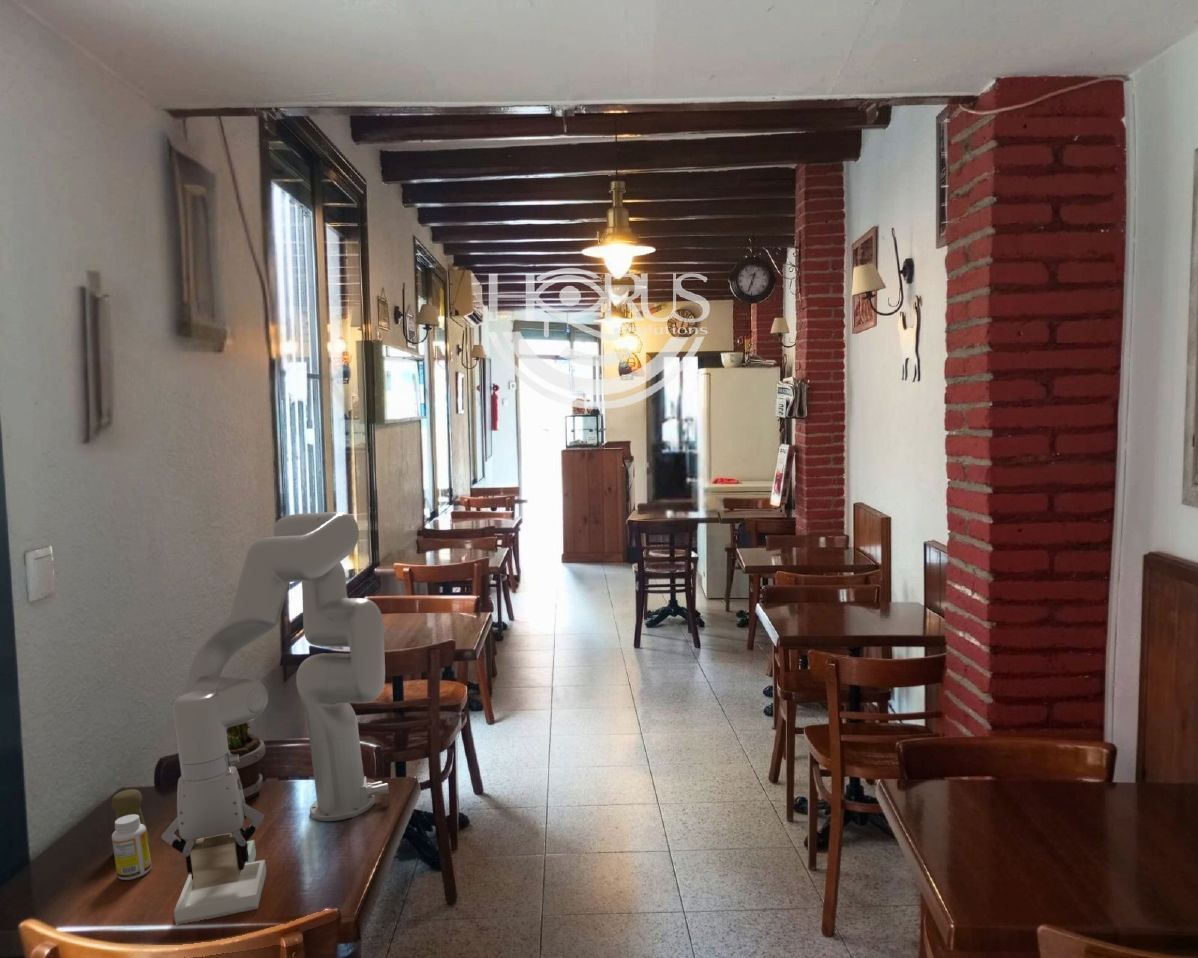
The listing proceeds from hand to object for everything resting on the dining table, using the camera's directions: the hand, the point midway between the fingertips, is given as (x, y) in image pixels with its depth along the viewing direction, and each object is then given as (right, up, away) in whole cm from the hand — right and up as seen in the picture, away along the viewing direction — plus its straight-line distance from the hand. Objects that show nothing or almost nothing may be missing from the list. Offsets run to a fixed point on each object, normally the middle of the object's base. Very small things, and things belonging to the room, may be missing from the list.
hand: (219, 869), depth 154 cm
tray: (0, -5, +1) cm, 5 cm away
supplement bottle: (-20, -6, +13) cm, 25 cm away
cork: (-26, -6, +24) cm, 35 cm away
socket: (-2, -4, +12) cm, 13 cm away
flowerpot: (-15, -3, +44) cm, 46 cm away
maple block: (0, -1, 0) cm, 1 cm away
